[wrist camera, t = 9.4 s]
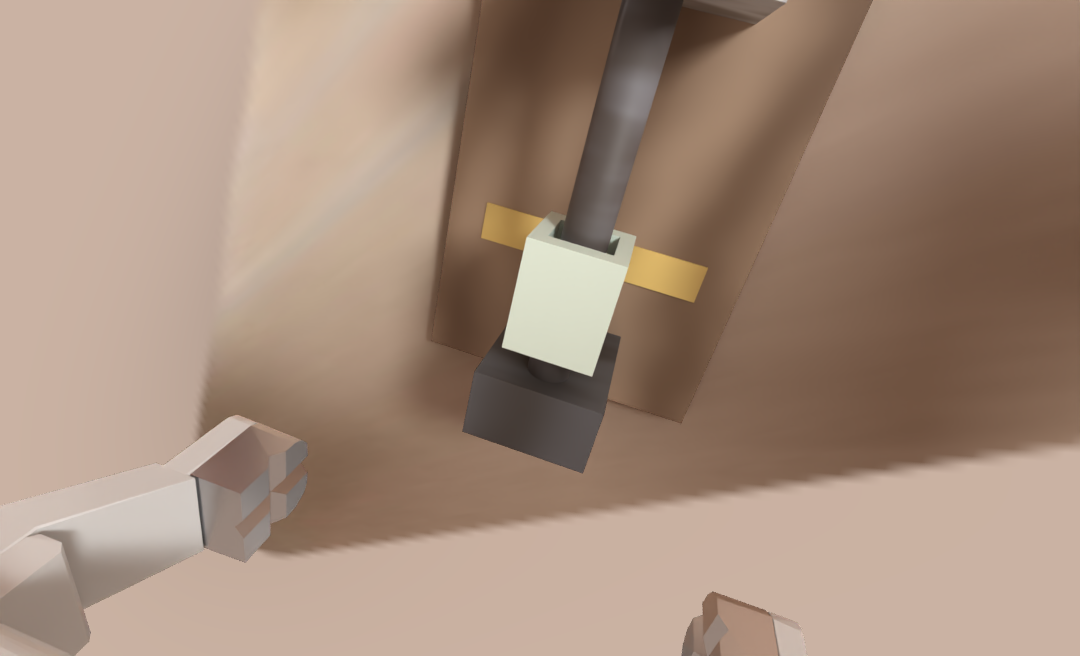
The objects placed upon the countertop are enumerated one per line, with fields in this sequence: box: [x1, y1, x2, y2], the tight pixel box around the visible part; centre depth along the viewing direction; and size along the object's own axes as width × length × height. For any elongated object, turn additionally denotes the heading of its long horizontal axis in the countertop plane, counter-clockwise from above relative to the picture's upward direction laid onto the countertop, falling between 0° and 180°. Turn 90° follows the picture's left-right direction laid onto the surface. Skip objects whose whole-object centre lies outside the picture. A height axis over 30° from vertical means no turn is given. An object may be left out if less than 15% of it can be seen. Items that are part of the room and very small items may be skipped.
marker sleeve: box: [502, 211, 636, 377], centre depth 23 cm, size 4×5×4 cm
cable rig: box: [431, 0, 873, 473], centre depth 23 cm, size 16×23×11 cm
